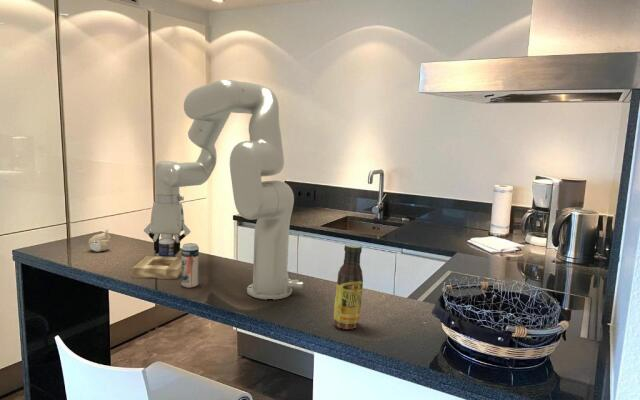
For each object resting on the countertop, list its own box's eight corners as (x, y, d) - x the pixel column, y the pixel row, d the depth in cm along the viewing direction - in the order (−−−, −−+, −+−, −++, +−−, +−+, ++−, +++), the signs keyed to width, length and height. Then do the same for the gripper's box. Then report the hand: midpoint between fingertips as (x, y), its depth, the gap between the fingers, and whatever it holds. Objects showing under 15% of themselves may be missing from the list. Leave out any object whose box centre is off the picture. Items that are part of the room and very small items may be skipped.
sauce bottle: (339, 332, 109) (345, 249, 106) (328, 322, 115) (333, 242, 112) (364, 329, 112) (370, 247, 109) (352, 319, 117) (357, 241, 114)
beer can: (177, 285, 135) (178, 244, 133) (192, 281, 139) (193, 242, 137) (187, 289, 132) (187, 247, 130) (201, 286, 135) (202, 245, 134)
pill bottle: (170, 264, 154) (170, 235, 153) (155, 262, 155) (155, 233, 154) (178, 259, 159) (178, 231, 158) (164, 258, 161) (164, 230, 159)
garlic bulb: (98, 254, 161) (97, 231, 160) (85, 251, 164) (84, 229, 162) (113, 250, 167) (113, 228, 166) (101, 247, 170) (100, 226, 168)
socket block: (187, 266, 153) (187, 257, 152) (176, 279, 140) (177, 269, 139) (147, 264, 152) (147, 255, 152) (132, 277, 139) (132, 267, 139)
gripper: (196, 198, 158) (195, 251, 161) (144, 196, 158) (144, 249, 160) (191, 202, 151) (190, 257, 154) (136, 199, 150) (137, 254, 153)
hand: (167, 252), depth 157 cm, fingers closed on pill bottle, 5 cm apart
